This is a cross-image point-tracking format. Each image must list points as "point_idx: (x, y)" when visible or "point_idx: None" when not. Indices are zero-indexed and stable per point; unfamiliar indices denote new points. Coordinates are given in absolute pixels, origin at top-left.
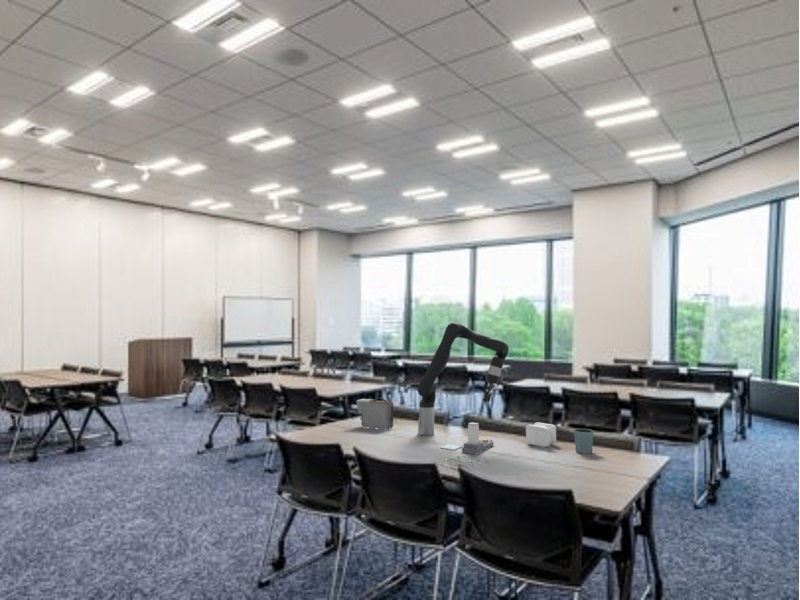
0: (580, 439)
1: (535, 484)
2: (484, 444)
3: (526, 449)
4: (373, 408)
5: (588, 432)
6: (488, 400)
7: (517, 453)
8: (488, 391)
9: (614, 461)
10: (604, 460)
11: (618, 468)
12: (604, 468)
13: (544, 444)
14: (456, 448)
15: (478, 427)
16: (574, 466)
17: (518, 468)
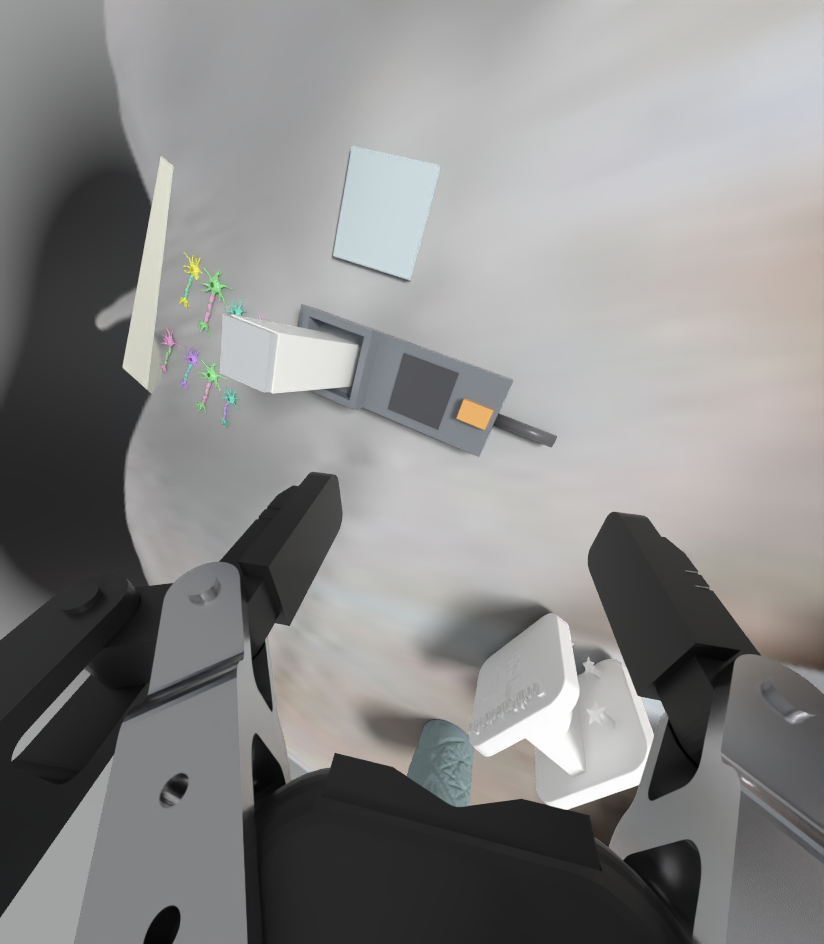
0: (407, 776)
1: (140, 535)
2: (395, 411)
3: (444, 582)
4: None
5: None
6: (604, 567)
7: (372, 539)
8: (79, 698)
9: (365, 754)
10: (367, 739)
11: (308, 728)
12: (297, 703)
13: (487, 664)
14: (355, 261)
15: (282, 390)
16: (288, 651)
17: (217, 517)
